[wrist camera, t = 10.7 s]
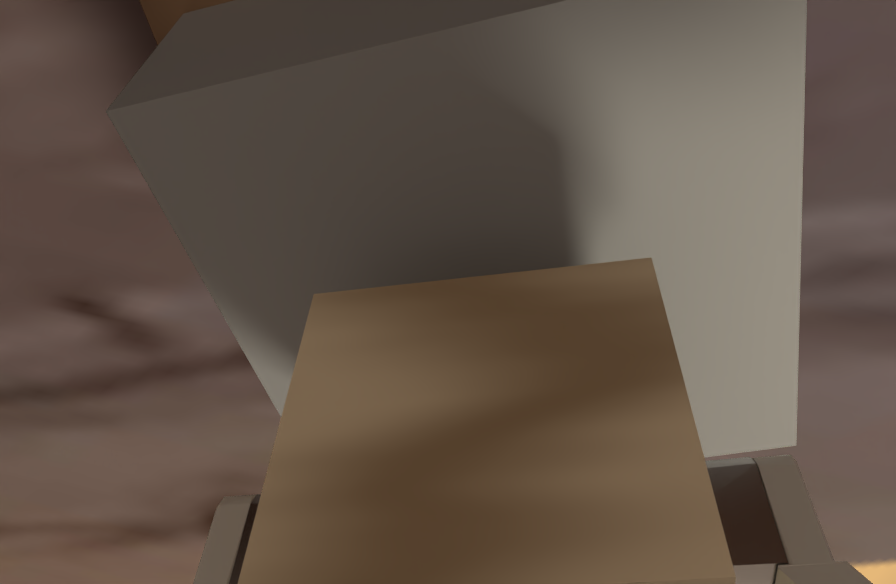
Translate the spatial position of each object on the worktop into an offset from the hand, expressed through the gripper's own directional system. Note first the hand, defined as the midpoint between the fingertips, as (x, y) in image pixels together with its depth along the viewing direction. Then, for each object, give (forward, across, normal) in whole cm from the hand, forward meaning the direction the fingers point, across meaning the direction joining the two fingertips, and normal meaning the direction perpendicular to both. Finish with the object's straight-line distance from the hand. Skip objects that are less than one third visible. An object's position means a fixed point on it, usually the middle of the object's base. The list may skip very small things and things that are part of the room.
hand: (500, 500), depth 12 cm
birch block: (+2, 0, 0) cm, 2 cm away
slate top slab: (+8, 0, -1) cm, 8 cm away
